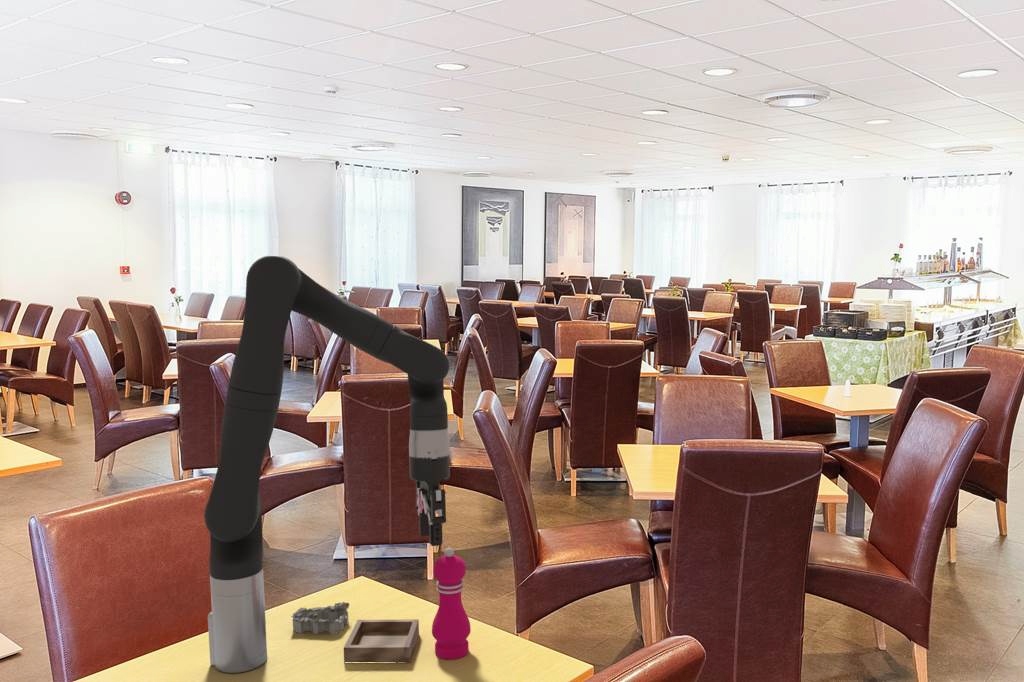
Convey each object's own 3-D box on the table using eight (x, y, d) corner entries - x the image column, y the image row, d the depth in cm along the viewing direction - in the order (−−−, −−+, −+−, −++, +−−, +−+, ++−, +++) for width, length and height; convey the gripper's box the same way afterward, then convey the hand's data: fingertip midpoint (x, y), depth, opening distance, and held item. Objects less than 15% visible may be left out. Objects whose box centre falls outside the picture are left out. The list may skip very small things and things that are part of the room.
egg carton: (352, 621, 173) (352, 601, 173) (339, 637, 166) (338, 617, 165) (303, 618, 175) (302, 599, 175) (288, 634, 168) (287, 614, 167)
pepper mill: (465, 662, 154) (462, 555, 152) (427, 659, 155) (424, 553, 153) (475, 644, 161) (472, 542, 159) (438, 641, 162) (435, 540, 160)
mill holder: (344, 663, 154) (343, 647, 154) (358, 634, 166) (357, 619, 166) (409, 663, 154) (409, 647, 153) (419, 634, 166) (418, 619, 165)
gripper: (402, 450, 163) (403, 534, 163) (417, 459, 150) (419, 550, 150) (439, 448, 166) (441, 531, 165) (458, 456, 152) (460, 546, 152)
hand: (430, 540), depth 157 cm, fingers open, 8 cm apart
